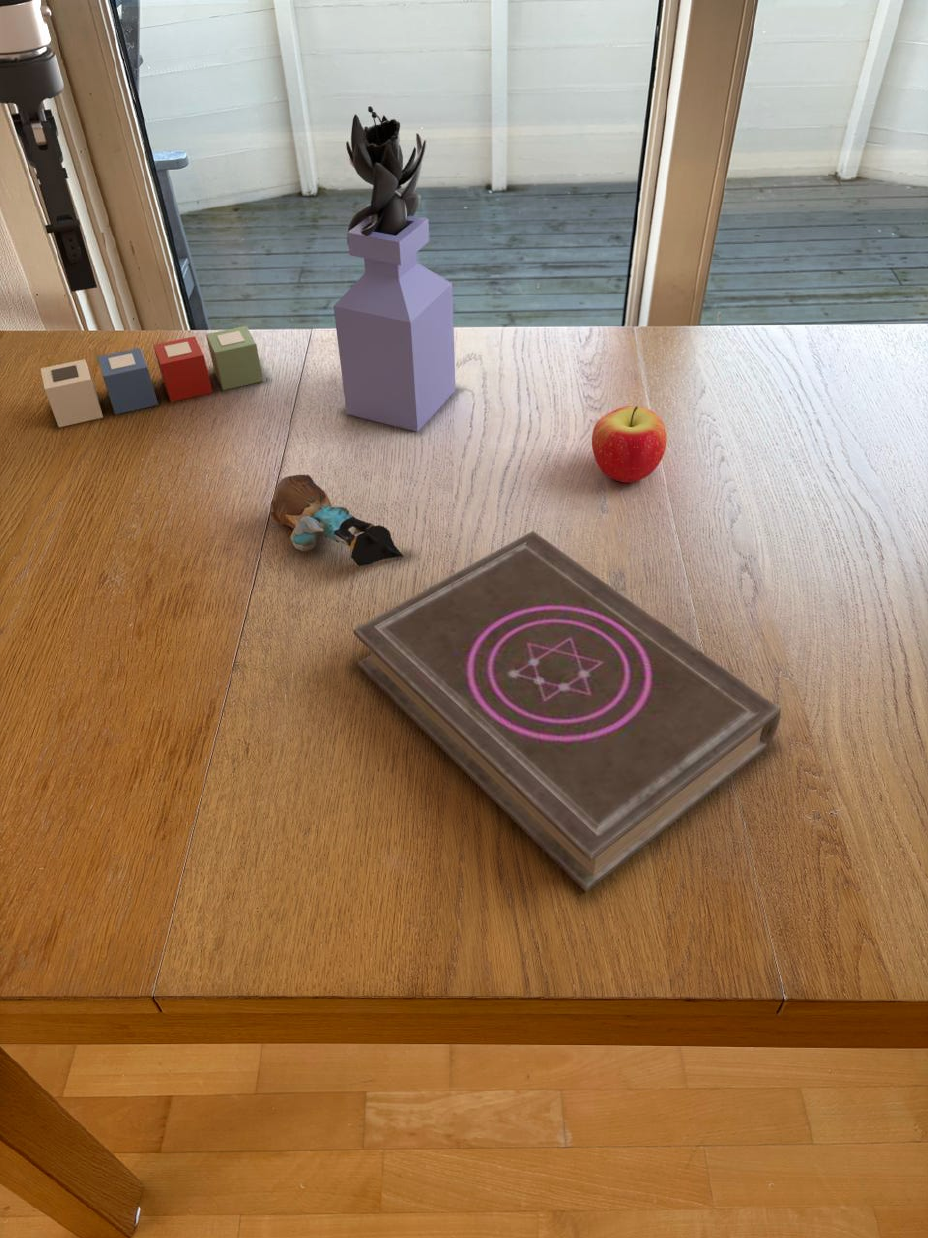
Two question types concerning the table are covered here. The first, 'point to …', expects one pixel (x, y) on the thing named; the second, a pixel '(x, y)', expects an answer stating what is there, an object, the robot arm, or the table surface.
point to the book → (566, 702)
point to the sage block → (234, 357)
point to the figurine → (327, 522)
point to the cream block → (71, 393)
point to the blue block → (127, 380)
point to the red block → (183, 368)
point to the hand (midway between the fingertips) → (75, 264)
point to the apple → (629, 443)
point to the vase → (393, 293)
